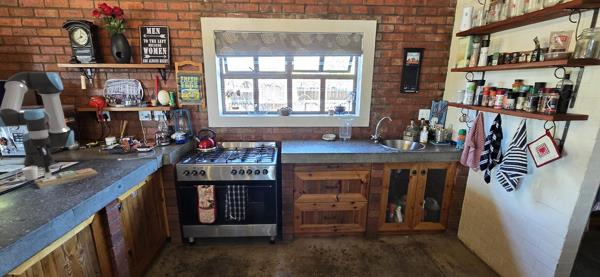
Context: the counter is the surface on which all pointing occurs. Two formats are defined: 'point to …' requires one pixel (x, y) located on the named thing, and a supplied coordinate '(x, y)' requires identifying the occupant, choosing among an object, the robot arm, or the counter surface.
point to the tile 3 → (83, 171)
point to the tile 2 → (66, 174)
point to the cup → (29, 173)
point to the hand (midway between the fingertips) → (48, 177)
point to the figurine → (126, 148)
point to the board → (65, 179)
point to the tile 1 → (48, 179)
